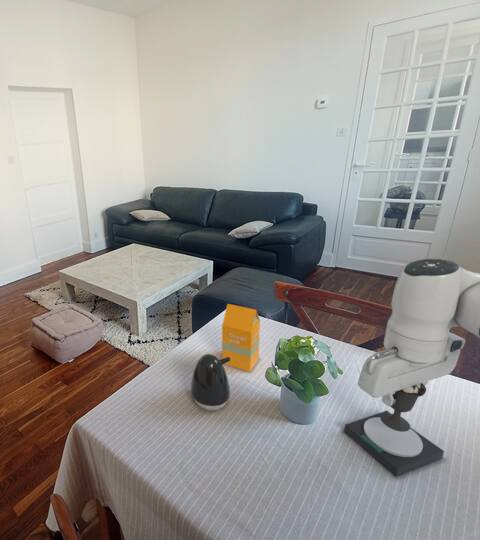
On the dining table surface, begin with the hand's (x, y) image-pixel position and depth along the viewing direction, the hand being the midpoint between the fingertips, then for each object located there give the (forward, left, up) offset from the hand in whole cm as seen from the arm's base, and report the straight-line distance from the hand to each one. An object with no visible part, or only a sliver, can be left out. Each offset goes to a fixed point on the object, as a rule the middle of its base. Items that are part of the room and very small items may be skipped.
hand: (400, 399), depth 69 cm
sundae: (0, 0, -6) cm, 6 cm away
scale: (0, 0, -13) cm, 13 cm away
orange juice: (+12, -38, -13) cm, 42 cm away
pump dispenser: (+29, -26, -13) cm, 41 cm away
